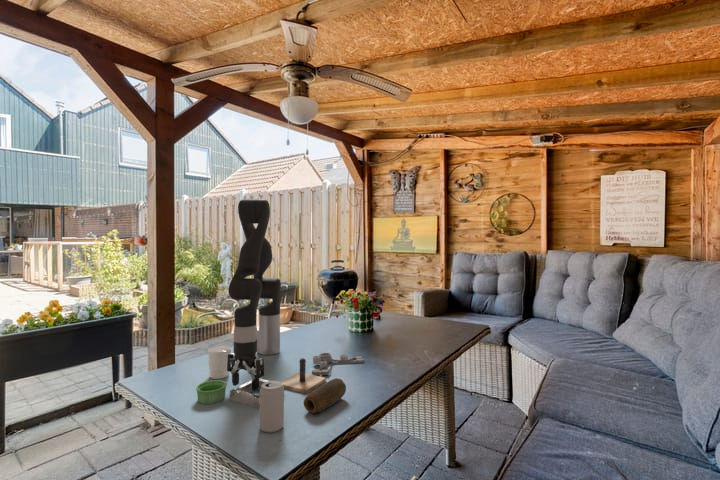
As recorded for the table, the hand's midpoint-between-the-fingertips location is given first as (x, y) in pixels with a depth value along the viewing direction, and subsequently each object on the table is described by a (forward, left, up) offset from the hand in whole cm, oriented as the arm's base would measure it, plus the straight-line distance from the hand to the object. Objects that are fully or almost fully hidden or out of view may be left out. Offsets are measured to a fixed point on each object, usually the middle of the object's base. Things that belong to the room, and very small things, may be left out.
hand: (245, 387), depth 122 cm
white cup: (-20, +7, -2) cm, 21 cm away
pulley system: (+12, +37, -3) cm, 39 cm away
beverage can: (+22, -13, -2) cm, 26 cm away
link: (+5, 0, -2) cm, 6 cm away
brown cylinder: (+28, +5, -2) cm, 29 cm away
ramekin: (-7, -8, -2) cm, 11 cm away
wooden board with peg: (+12, +15, -2) cm, 20 cm away
